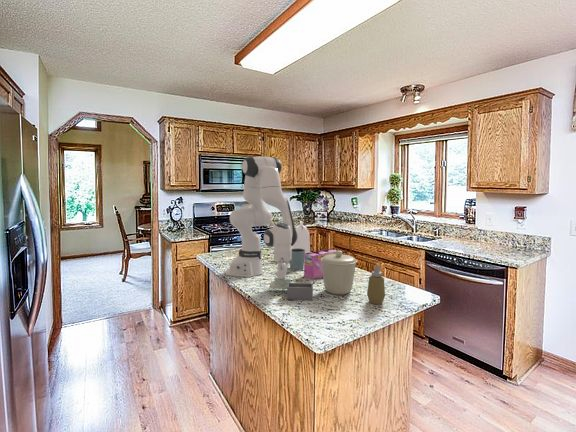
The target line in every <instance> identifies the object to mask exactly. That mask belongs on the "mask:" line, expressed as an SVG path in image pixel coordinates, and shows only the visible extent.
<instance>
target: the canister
mask: <svg viewBox="0 0 576 432" xmlns="http://www.w3.org/2000/svg"><path fill="white" fill-rule="evenodd" d="M321 261H322V269H323V277H322V278H323V285H324V289H325V291H326V292H327V293H329V294H331V295H340V296H341V295H347V294H349V293H351V291H352V289H353V285H354V284H353V283H354V279H355V272H356V271H355V270H356V264H357V263H358V260H357V259H356V258H355V257H353V256H351V255H348V254H343V251H342V250H340V251H339V250H338V249H337V250H336V252H335V254H331V255H326V256H324V257H322V258H321Z"/></svg>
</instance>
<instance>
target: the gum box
mask: <svg viewBox="0 0 576 432" xmlns="http://www.w3.org/2000/svg"><path fill="white" fill-rule="evenodd" d="M336 251H337V250H336V249H334V248H328V249H322V250H317V251H312V252H311V251H310V253H304V268H303V276H304V277H306V278H309V279H313V280H314V279H318V278H323V269H322V261H321V258H322V257H324V256H326V255H331V254H335V252H336ZM339 251H341V250H339Z"/></svg>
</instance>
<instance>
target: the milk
mask: <svg viewBox="0 0 576 432" xmlns="http://www.w3.org/2000/svg"><path fill="white" fill-rule="evenodd" d="M295 229H296V232H297V236H298V238H297V241H296V242H295V244H294V245H293V246H291V249H295V248H298V249H304V250H305V253H310V252H311V238H310V236H311V235H310V234H311V233H310V232H309V231H308V227H306V226H305V225H304V222H303V221H301V220H299V225H297V227H295Z"/></svg>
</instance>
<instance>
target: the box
mask: <svg viewBox="0 0 576 432" xmlns="http://www.w3.org/2000/svg"><path fill="white" fill-rule="evenodd" d="M313 294H314V286H313V283H312V282H311V283H309V282H307V283H306V282H295V283H288V285H287V289H286V300H288V301H313V299H314V295H313Z"/></svg>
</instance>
